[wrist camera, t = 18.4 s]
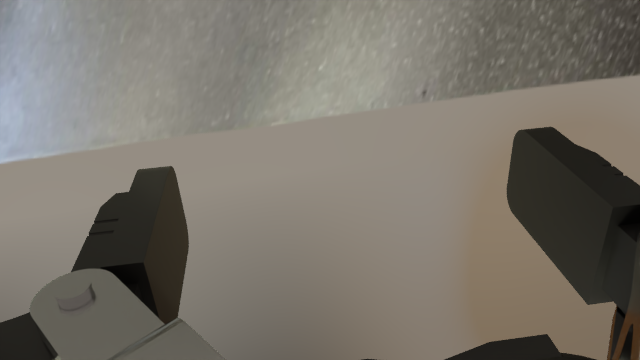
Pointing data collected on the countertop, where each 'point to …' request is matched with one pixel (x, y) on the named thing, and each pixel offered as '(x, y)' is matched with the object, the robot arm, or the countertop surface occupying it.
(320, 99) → the countertop surface
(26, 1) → the countertop surface
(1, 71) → the countertop surface
